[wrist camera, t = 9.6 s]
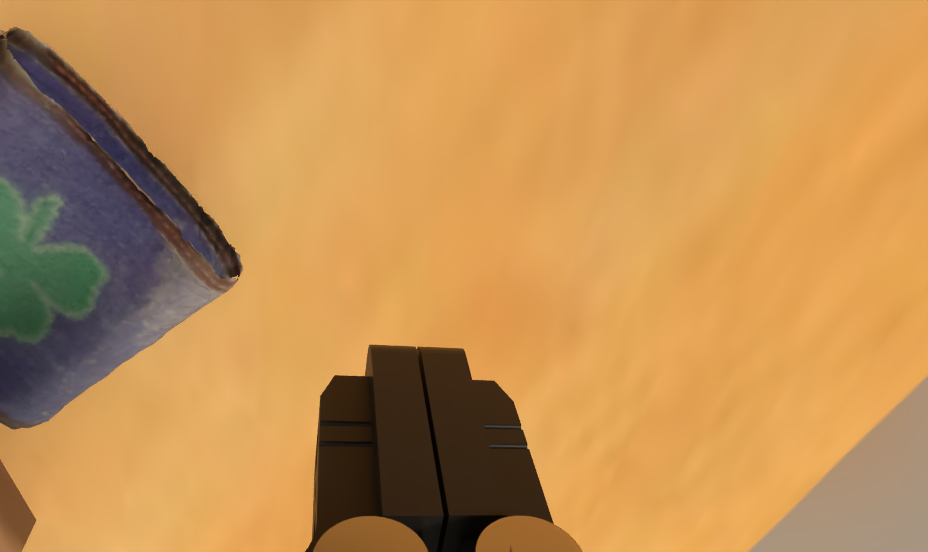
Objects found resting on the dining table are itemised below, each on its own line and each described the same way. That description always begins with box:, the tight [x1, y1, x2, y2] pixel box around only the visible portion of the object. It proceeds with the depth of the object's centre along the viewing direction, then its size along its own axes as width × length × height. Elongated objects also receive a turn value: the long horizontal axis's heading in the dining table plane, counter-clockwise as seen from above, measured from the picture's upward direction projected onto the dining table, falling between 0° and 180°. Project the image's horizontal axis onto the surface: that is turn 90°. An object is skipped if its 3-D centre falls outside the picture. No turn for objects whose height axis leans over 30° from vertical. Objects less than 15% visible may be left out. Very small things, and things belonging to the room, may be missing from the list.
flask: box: [0, 27, 243, 429], centre depth 22 cm, size 9×3×11 cm
